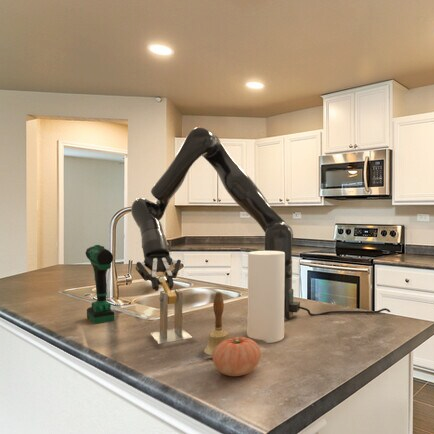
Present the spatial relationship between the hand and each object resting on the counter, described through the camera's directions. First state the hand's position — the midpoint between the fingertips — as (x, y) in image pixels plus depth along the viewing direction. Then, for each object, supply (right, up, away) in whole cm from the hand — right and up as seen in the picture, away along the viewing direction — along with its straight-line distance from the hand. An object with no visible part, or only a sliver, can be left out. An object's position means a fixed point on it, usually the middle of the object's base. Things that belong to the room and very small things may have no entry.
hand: (163, 288), depth 116 cm
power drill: (-30, -13, +16) cm, 37 cm away
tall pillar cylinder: (+32, -14, -4) cm, 35 cm away
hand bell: (+21, -14, -17) cm, 31 cm away
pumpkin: (+29, -14, -28) cm, 43 cm away
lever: (+2, -1, -2) cm, 3 cm away
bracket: (+5, -13, -7) cm, 16 cm away
